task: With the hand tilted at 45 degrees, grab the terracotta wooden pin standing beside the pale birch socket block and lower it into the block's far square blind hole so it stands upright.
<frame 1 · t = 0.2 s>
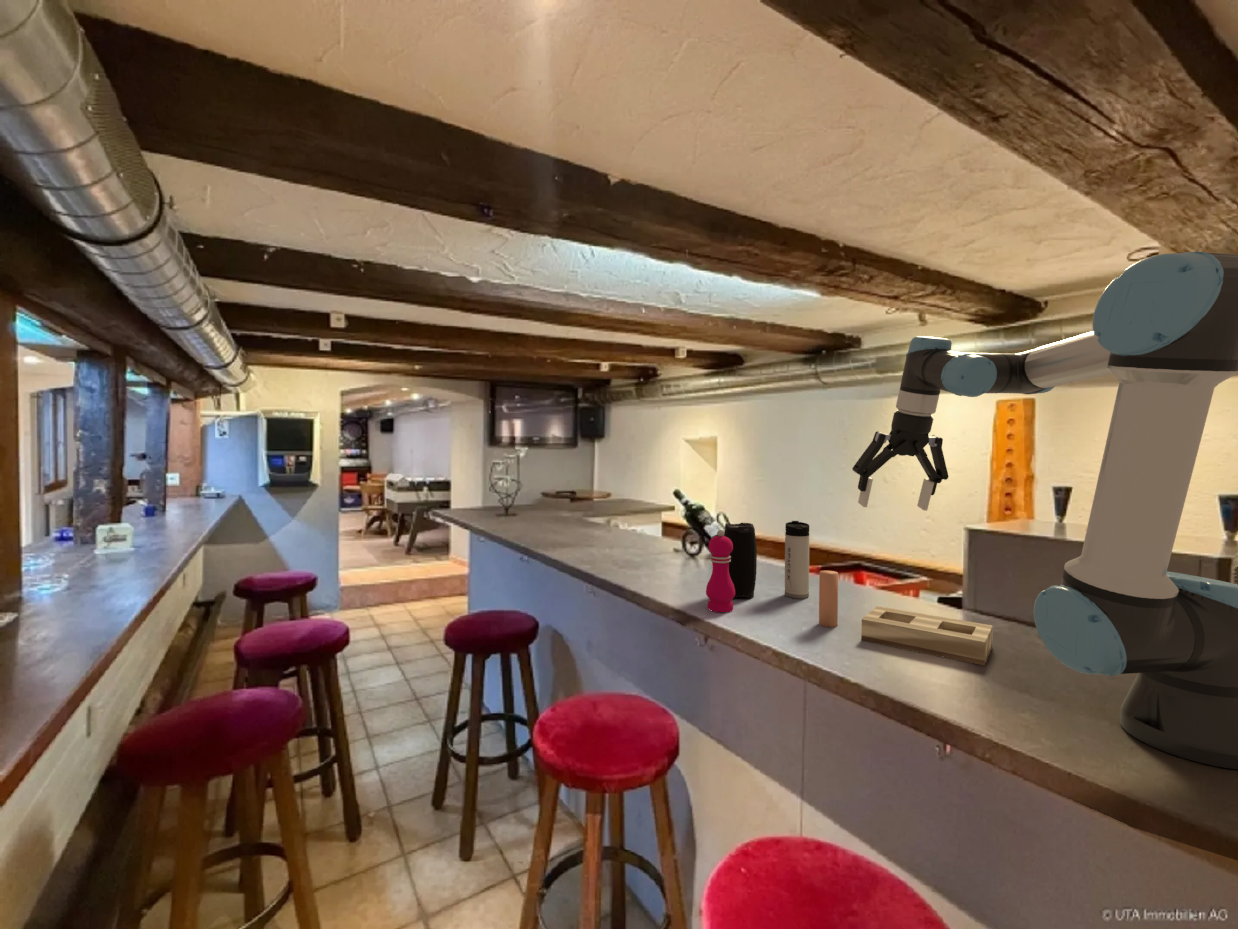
hand: (892, 506, 125), 27 cm above the table, tool tilted 15°, fingers open, 13 cm apart
pin: (828, 624, 130), on the table
travel mug: (796, 596, 155), on the table
portable speaker: (739, 596, 154), on the table
pepper mill: (720, 610, 142), on the table
socket block: (925, 643, 118), on the table
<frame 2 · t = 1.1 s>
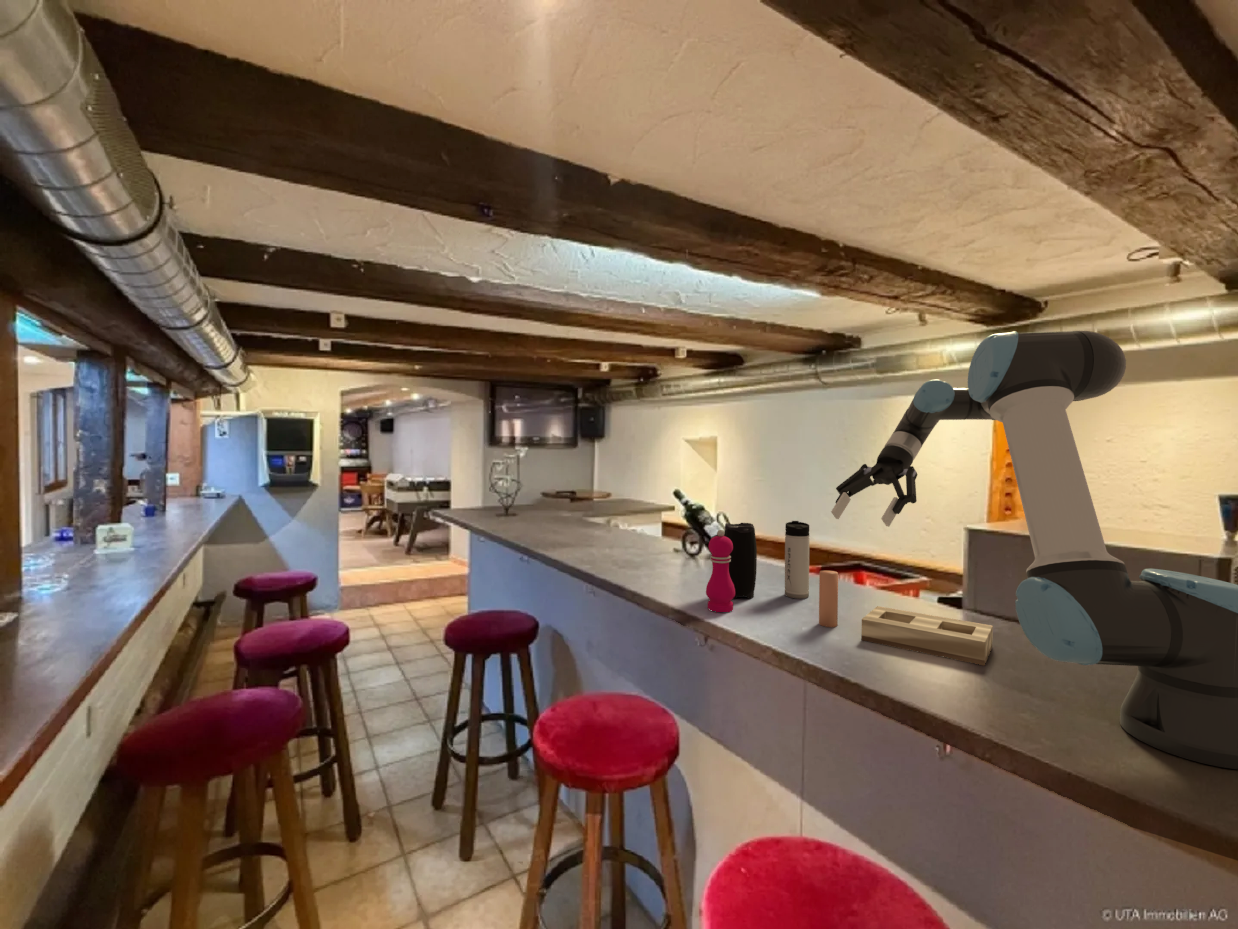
hand: (858, 519, 135), 23 cm above the table, tool tilted 45°, fingers open, 13 cm apart
nothing on the table moved.
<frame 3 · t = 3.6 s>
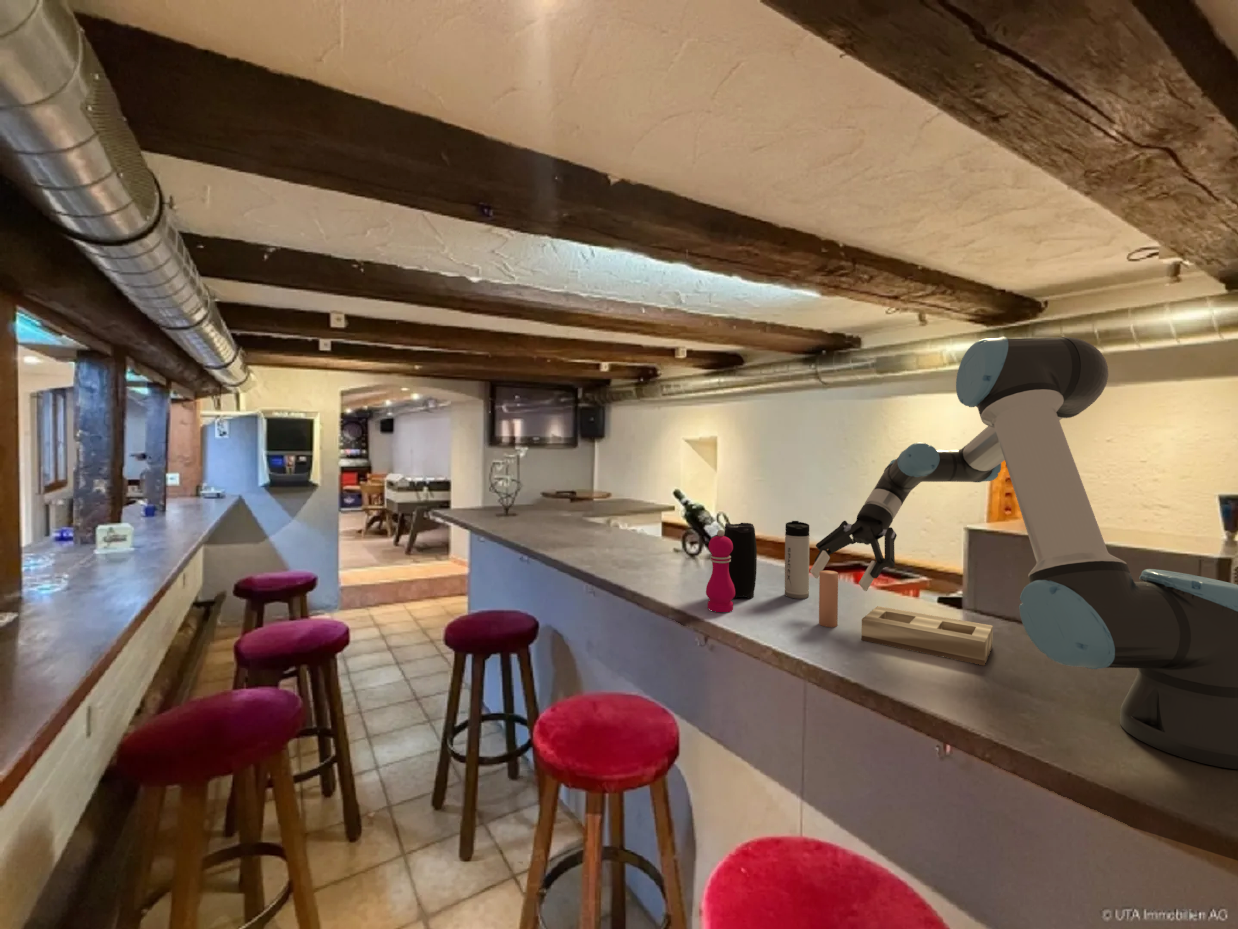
hand: (836, 580, 133), 9 cm above the table, tool tilted 45°, fingers open, 13 cm apart
nothing on the table moved.
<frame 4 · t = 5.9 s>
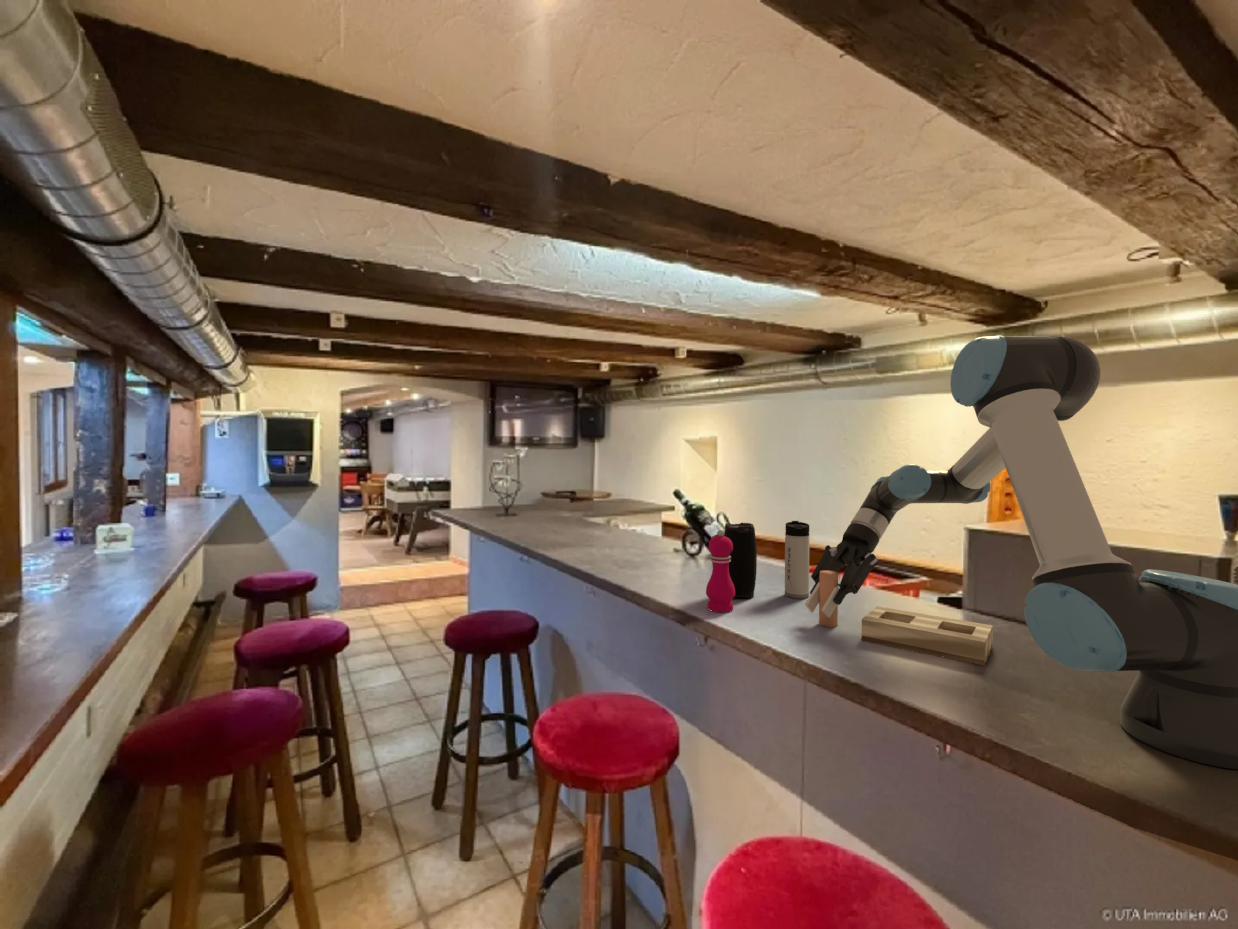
hand: (817, 611, 128), 4 cm above the table, tool tilted 45°, fingers closed on pin, 4 cm apart
pin: (828, 624, 130), on the table, touching gripper
everything else where it was.
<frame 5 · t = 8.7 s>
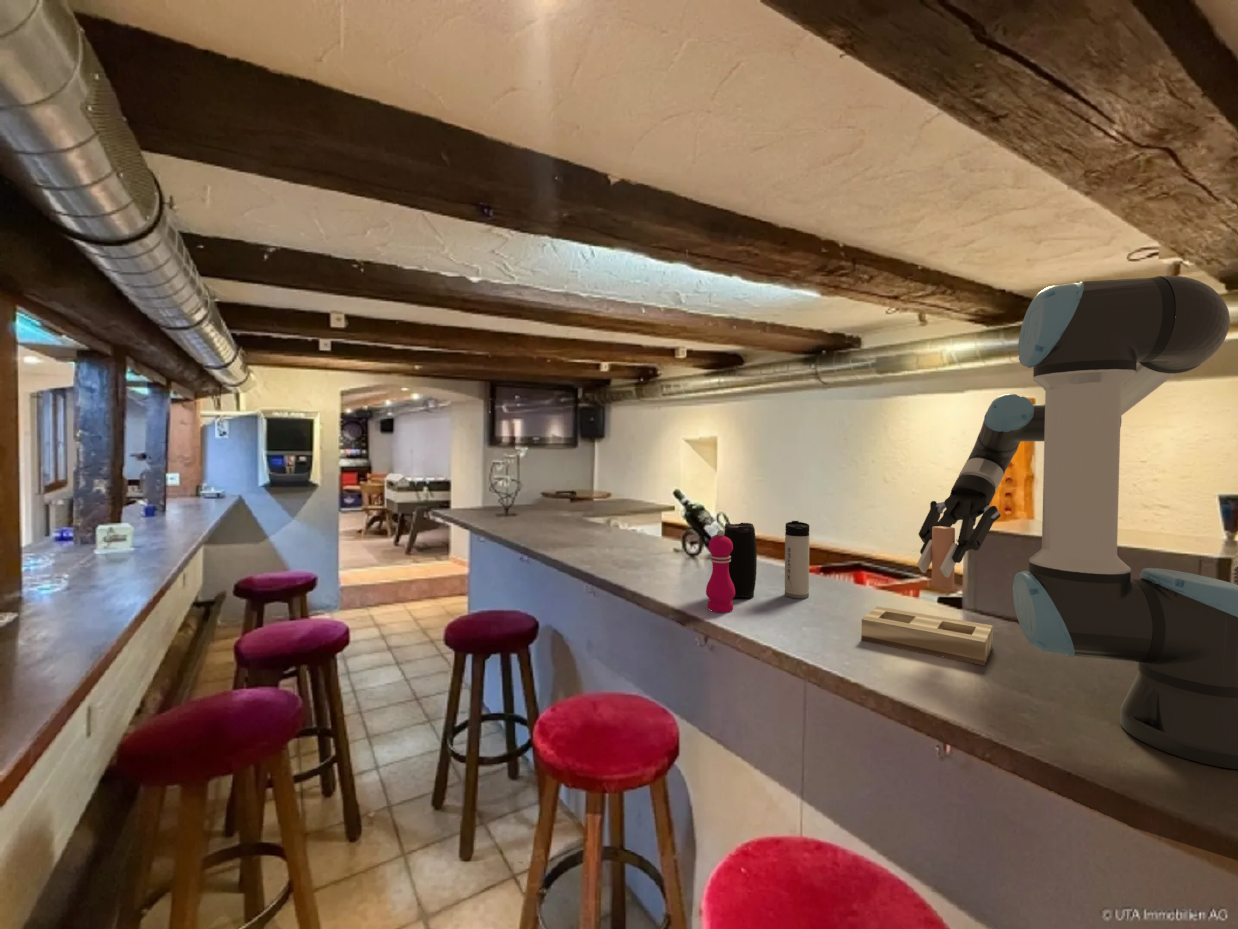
hand: (932, 570, 114), 16 cm above the table, tool tilted 45°, fingers closed on pin, 4 cm apart
pin: (942, 586, 116), point 12 cm above the table, touching gripper
everything else where it was.
when the fingers open (7 cm above the table, at t = 11.5 s): pin drops 2 cm, resting on socket block.
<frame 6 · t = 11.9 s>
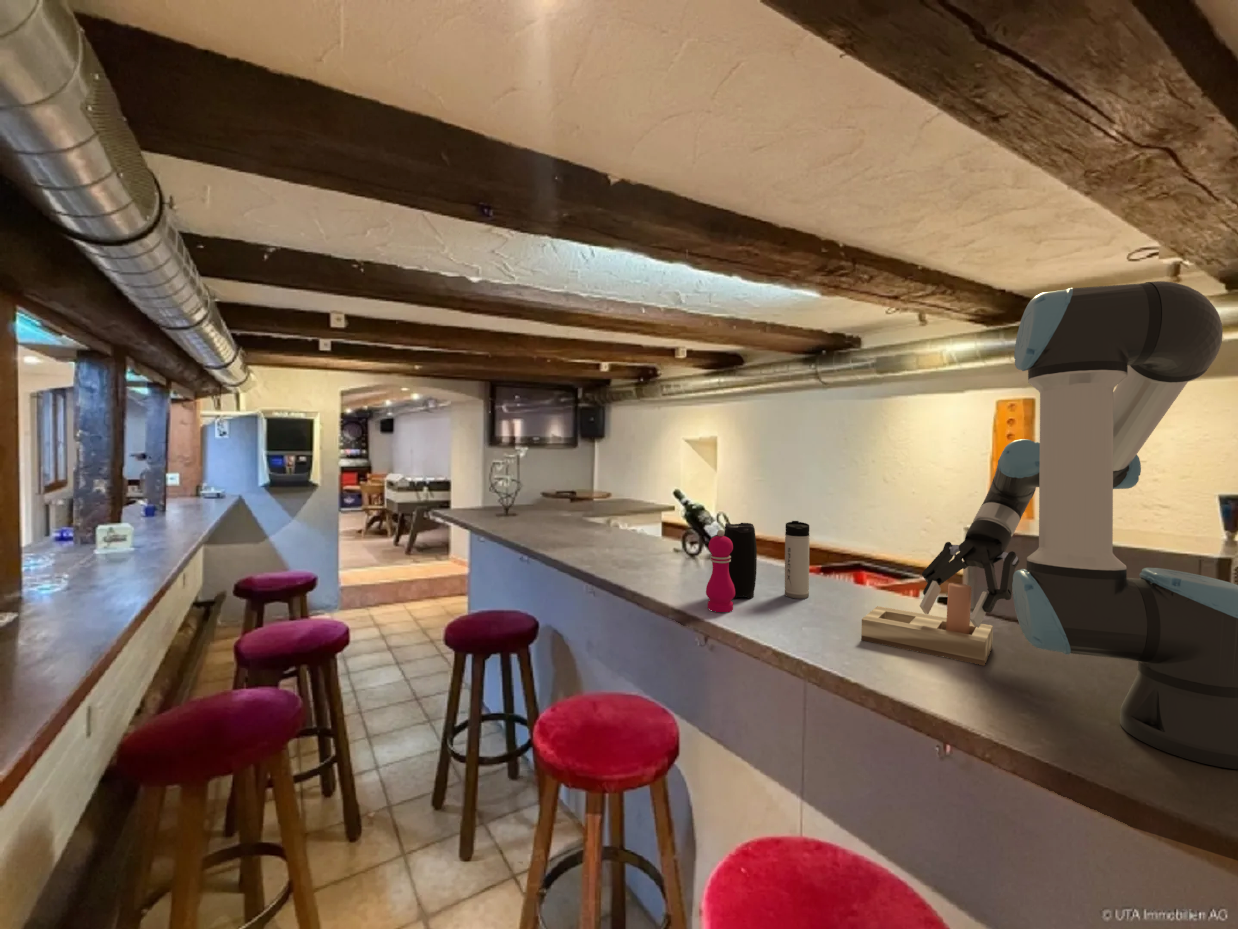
hand: (948, 616, 112), 7 cm above the table, tool tilted 45°, fingers open, 9 cm apart
pin: (956, 644, 114), point 1 cm above the table, touching socket block
everything else where it was.
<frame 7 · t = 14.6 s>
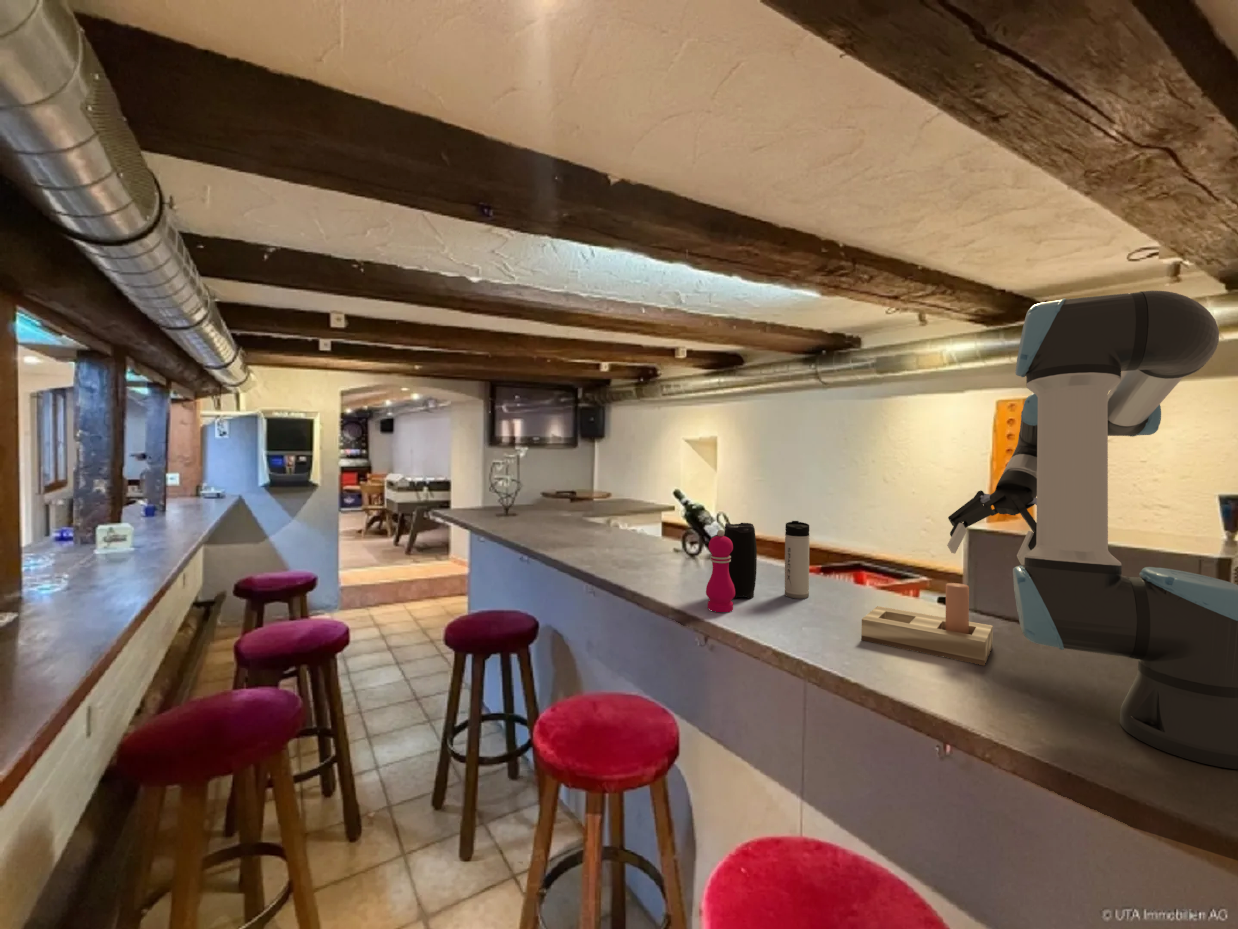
hand: (984, 555, 119), 18 cm above the table, tool tilted 45°, fingers open, 13 cm apart
nothing on the table moved.
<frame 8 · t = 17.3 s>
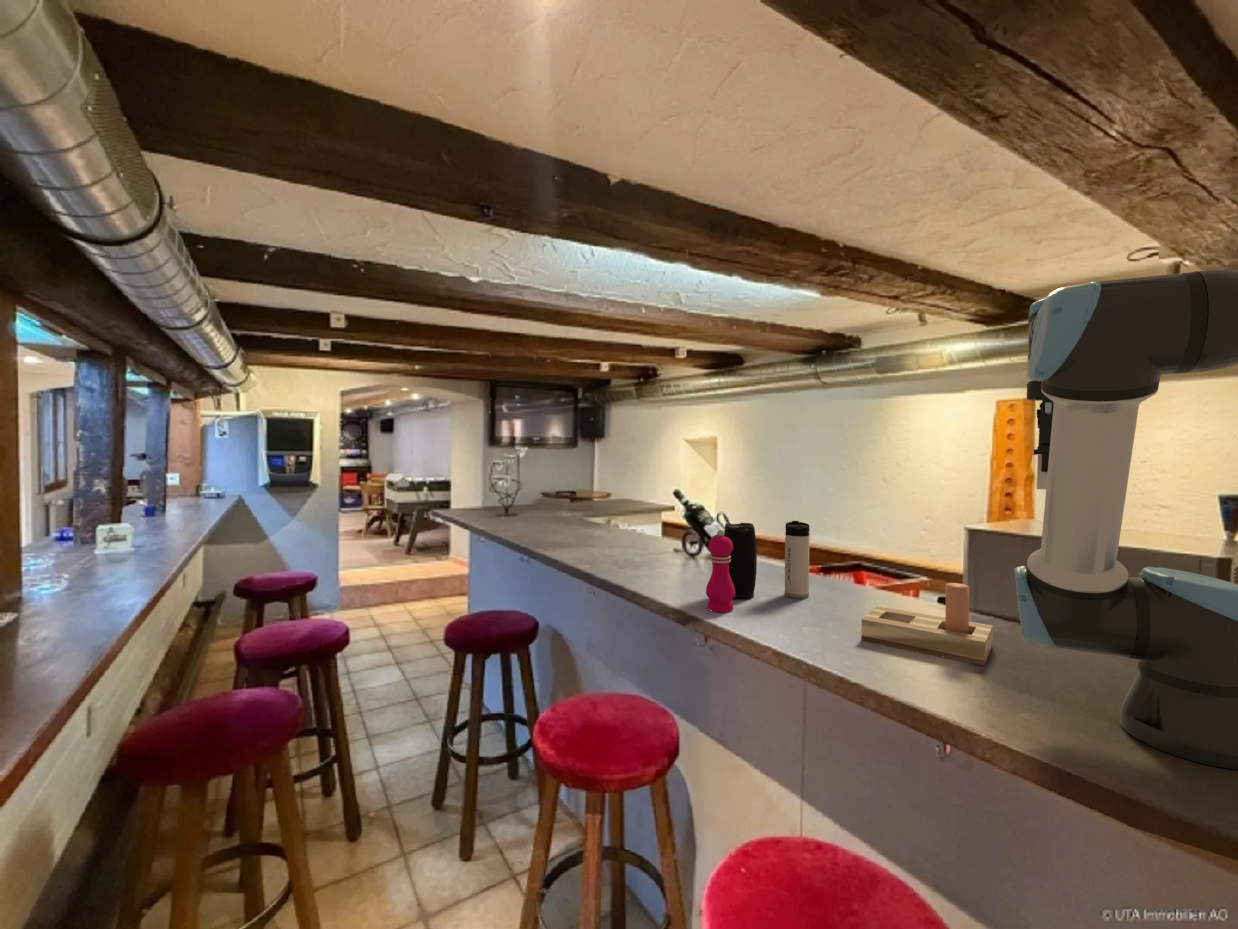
hand: (1047, 487, 113), 33 cm above the table, tool pointing down, fingers open, 13 cm apart
nothing on the table moved.
at the end: pin 0.1 cm from the target spot on the socket block, point 1.1 cm above the socket block's base; pin tilted 2°; the gripper is holding nothing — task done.
